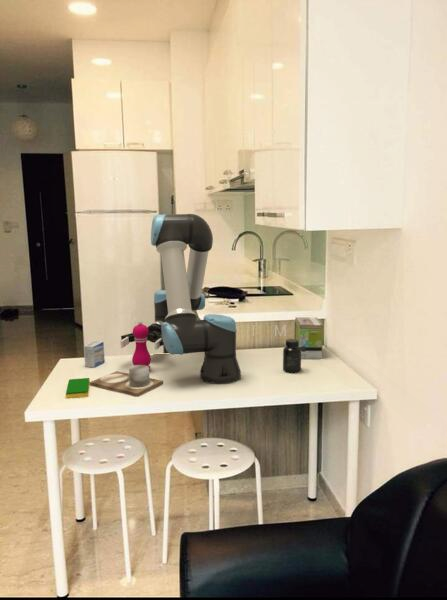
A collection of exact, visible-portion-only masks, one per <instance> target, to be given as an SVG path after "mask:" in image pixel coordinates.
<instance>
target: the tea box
mask: <svg viewBox="0 0 447 600" xmlns="http://www.w3.org/2000/svg"><path fill="white" fill-rule="evenodd" d="M323 334H324V324H323V323H322V321H321V320H320V319H319V318H318V317H313V316H312V317H307V316H306V317H304V316H303V317H299V316H297V317H295V318H294V339H296V340H298V341H299V346H298V347H299V348H300V349H301V360H302V359H303V360H309V359H310V360H316V359H318V360H320V359H321V360H322V358H323V338H324V335H323Z"/></svg>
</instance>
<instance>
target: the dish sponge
mask: <svg viewBox="0 0 447 600" xmlns="http://www.w3.org/2000/svg"><path fill="white" fill-rule="evenodd" d="M90 382H91V381H90V377H83V378H70V379H68V383H67V387H66V391H65V399H74V398H75V399H77V398H87V397H89V393H90V386H91V385H90Z"/></svg>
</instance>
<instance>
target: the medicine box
mask: <svg viewBox="0 0 447 600" xmlns="http://www.w3.org/2000/svg"><path fill="white" fill-rule="evenodd" d="M83 355H84V366H85V367H86V368H97V367H99V366H100V365H102V364H103V363H105V346H104V341H98V340H97V341H93V342H91V343H88V344H87V345H83Z"/></svg>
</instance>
